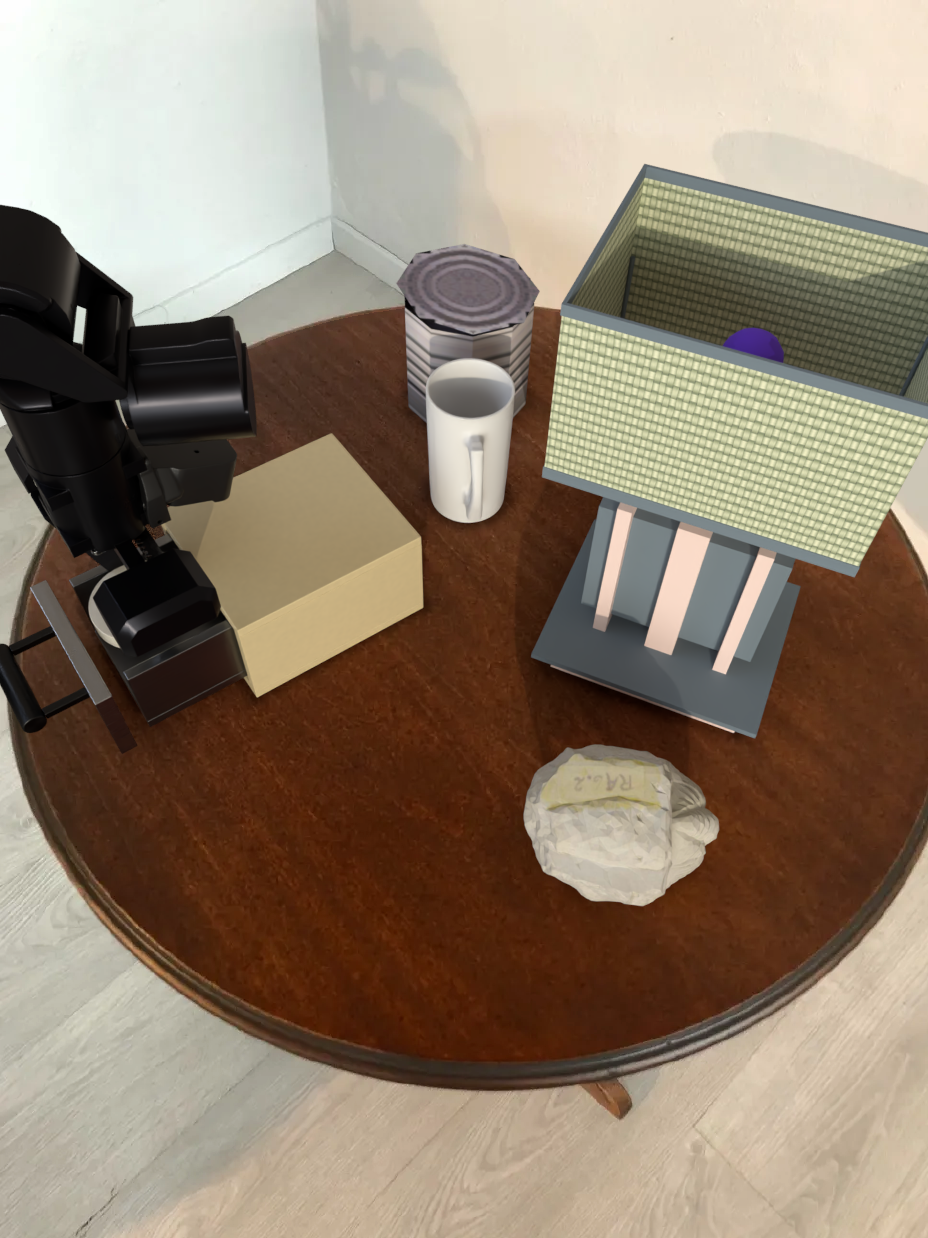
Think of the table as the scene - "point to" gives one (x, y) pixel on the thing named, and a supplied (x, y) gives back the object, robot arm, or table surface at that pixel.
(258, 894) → the table surface
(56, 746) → the table surface
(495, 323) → the can
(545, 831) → the fossil replica
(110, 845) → the table surface
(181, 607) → the robot arm
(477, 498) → the mug
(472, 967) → the table surface
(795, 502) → the desk lamp
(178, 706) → the drawer
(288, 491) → the tan cardboard box
